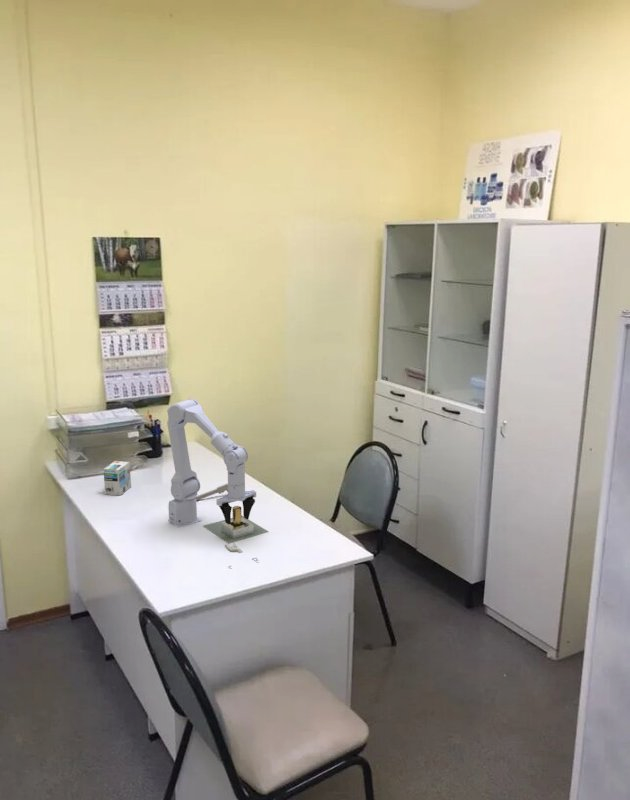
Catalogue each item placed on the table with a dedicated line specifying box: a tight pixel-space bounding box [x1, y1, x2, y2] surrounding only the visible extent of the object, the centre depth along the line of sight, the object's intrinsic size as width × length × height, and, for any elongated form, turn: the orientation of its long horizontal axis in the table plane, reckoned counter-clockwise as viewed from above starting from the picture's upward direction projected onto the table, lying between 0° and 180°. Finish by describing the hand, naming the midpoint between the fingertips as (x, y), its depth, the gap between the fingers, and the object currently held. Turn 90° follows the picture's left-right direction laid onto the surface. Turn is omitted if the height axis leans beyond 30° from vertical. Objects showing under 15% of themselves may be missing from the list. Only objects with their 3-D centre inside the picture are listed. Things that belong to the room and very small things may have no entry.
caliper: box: [196, 483, 228, 502], centre depth 265 cm, size 20×1×6 cm, turn 121°
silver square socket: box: [221, 517, 254, 539], centre depth 233 cm, size 8×8×3 cm
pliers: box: [224, 542, 260, 568], centre depth 217 cm, size 10×2×15 cm
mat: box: [202, 514, 269, 545], centre depth 236 cm, size 16×18×1 cm
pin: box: [231, 505, 242, 527], centre depth 232 cm, size 3×3×9 cm
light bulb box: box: [103, 460, 132, 496], centre depth 272 cm, size 11×7×11 cm, turn 171°
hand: (237, 520), depth 233 cm, fingers open, 7 cm apart
